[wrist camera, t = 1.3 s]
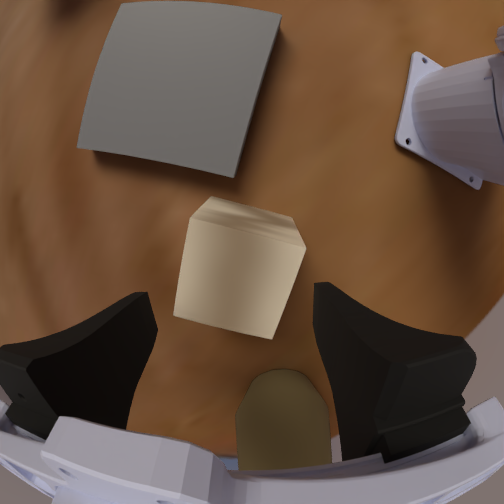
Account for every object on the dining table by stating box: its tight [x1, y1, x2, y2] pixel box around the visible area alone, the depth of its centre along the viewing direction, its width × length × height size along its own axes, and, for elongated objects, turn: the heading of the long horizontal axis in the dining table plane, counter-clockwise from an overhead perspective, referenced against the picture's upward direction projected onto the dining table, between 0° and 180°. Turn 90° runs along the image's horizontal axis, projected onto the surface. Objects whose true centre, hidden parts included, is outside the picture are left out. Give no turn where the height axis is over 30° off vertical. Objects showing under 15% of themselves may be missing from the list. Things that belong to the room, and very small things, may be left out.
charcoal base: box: [77, 1, 282, 178], centre depth 14 cm, size 11×11×2 cm
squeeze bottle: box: [235, 369, 332, 471], centre depth 16 cm, size 8×8×18 cm
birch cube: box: [173, 196, 306, 339], centre depth 16 cm, size 6×6×6 cm
